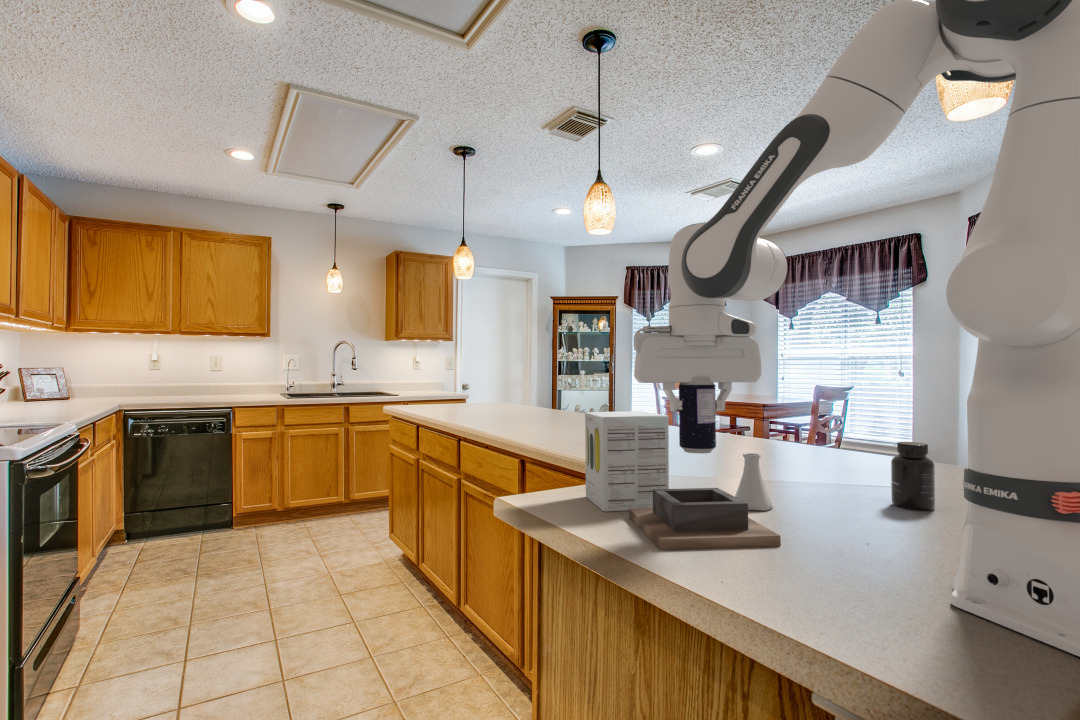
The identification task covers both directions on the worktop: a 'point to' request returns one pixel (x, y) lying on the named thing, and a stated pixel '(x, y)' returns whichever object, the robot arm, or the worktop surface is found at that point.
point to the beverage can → (697, 416)
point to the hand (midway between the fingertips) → (697, 411)
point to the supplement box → (625, 458)
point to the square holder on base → (700, 521)
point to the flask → (753, 485)
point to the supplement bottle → (913, 477)
